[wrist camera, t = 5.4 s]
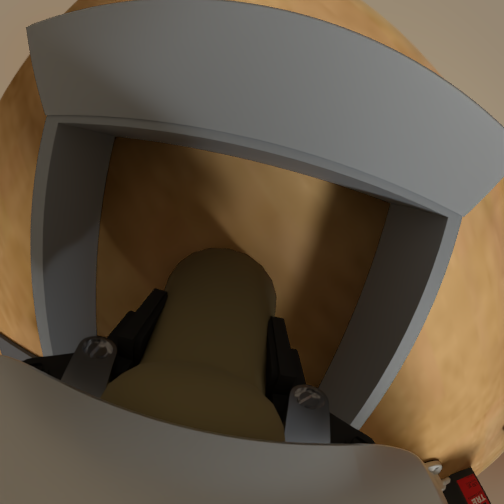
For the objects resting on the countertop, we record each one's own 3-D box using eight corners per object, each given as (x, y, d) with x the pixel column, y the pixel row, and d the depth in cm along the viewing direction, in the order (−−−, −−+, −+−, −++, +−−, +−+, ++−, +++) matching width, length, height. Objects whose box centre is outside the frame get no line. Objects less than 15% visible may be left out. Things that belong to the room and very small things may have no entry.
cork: (299, 304, 14) (364, 495, 4) (221, 364, 16) (198, 537, 5) (219, 222, 13) (121, 372, 3) (145, 297, 14) (33, 451, 4)
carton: (414, 151, 12) (525, 145, 5) (298, 438, 18) (312, 520, 10) (119, 78, 11) (28, 22, 4) (94, 391, 17) (51, 462, 9)
